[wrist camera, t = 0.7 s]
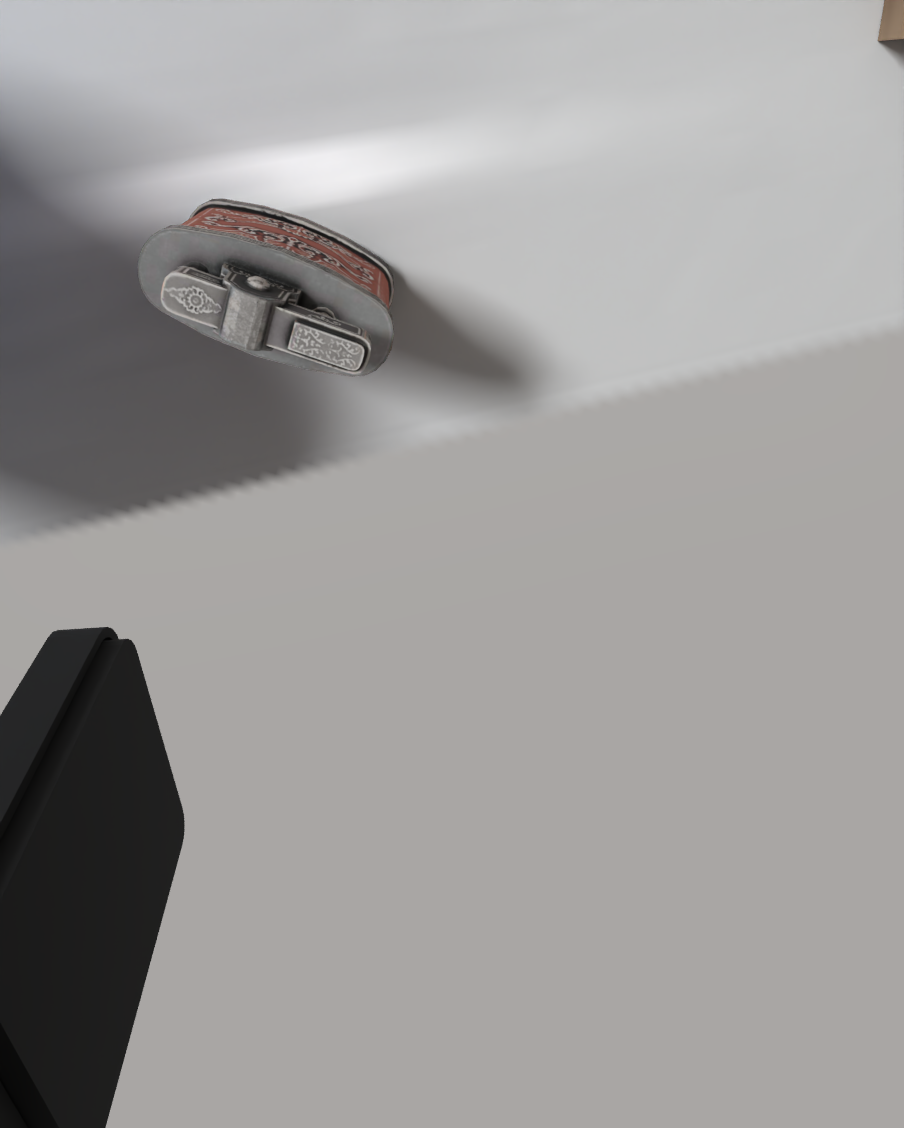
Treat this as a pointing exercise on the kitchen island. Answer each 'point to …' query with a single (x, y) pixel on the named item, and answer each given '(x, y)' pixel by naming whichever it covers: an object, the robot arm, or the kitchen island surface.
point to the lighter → (273, 287)
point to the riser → (892, 20)
